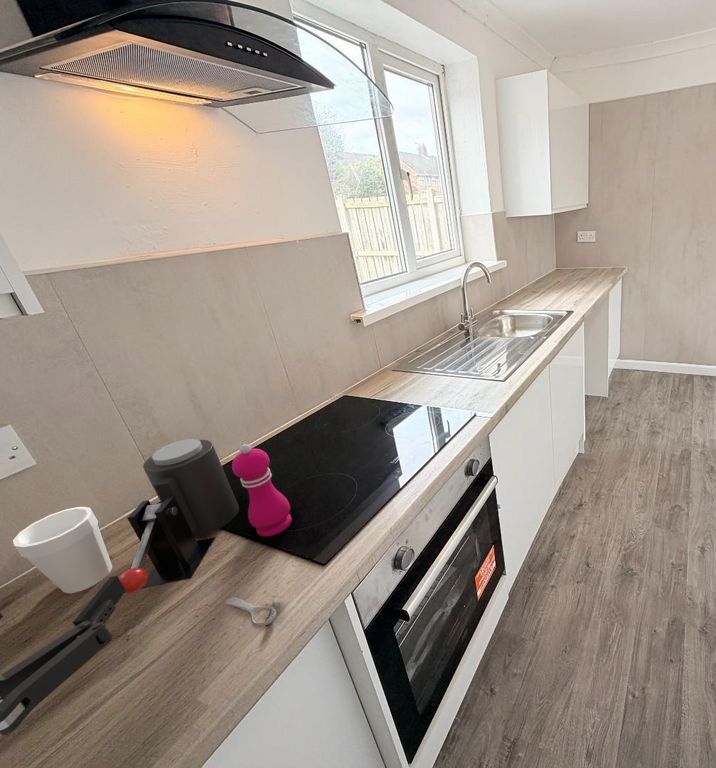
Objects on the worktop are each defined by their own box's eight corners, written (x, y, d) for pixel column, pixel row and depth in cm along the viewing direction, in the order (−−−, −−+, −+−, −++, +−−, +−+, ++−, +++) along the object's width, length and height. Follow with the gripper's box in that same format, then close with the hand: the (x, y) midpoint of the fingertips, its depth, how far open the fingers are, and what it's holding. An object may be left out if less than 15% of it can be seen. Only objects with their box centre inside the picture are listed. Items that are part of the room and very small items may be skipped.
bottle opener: (266, 632, 62) (261, 623, 62) (217, 612, 67) (212, 603, 67) (283, 615, 65) (278, 606, 64) (235, 597, 70) (230, 588, 69)
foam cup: (68, 573, 76) (31, 518, 71) (131, 553, 80) (100, 500, 75) (43, 614, 68) (-1, 555, 63) (114, 590, 72) (78, 532, 67)
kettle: (224, 543, 81) (188, 465, 74) (161, 555, 79) (118, 477, 72) (252, 493, 95) (225, 424, 88) (200, 502, 93) (167, 432, 86)
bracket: (193, 582, 72) (161, 521, 67) (142, 593, 71) (105, 531, 65) (217, 541, 81) (191, 484, 76) (172, 550, 80) (142, 492, 74)
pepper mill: (260, 522, 86) (227, 439, 78) (298, 513, 88) (269, 431, 80) (251, 546, 79) (214, 459, 71) (292, 536, 81) (260, 450, 73)
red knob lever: (148, 593, 65) (133, 586, 62) (122, 598, 64) (106, 591, 61) (175, 509, 74) (163, 500, 71) (153, 513, 73) (140, 504, 71)
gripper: (-314, 894, 32) (-44, 641, 52) (56, 792, 37) (178, 594, 56) (-404, 850, 29) (-82, 599, 49) (9, 744, 34) (155, 552, 53)
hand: (57, 596), depth 52 cm, fingers open, 13 cm apart
